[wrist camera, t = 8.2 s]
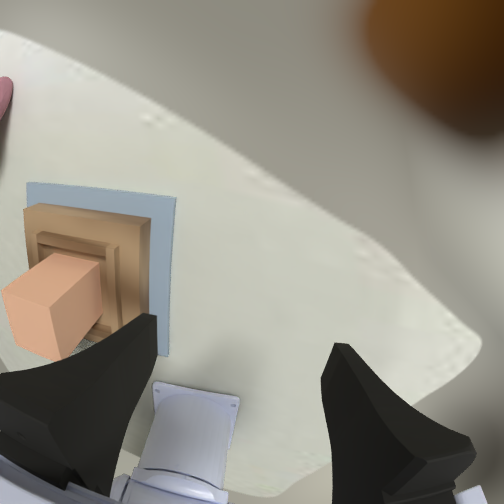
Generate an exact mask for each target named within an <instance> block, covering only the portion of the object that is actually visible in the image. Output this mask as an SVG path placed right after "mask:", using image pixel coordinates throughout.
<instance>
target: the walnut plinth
mask: <svg viewBox="0 0 504 504" xmlns="http://www.w3.org/2000/svg"><path fill="white" fill-rule="evenodd" d="M23 211H24V226H25V238H26V247H27V255H28V263H29V270H30V269H31V268H33V267H34V266H35V265H37V264H38V263H40V262H41V261H43V260H44V259H46V258H47V257H49V256H50V255H52V254H53V253H57V254H62V255H66V256H71V257H75V258H80V259H85V260H89V261H94V262H99V269H100V285H101V297H102V308H103V314H102V315H101V316H100V317H99V319H98V320H97V321H96V322H95V324H94V325H93V326H92V327H91V329H90V330H89V331H88V332H87V334H86V335H85V336H84V337H83V338H84V339H87V340H90V341H94V342H97V343H98V342H100V341H101V340H103V339H105V338H106V337H108V336H110V335H111V334H113V333H114V332H116V331H117V330H119V329H120V328H122V327H123V326H124V325H126V324H127V323H129V322H130V321H132V320H133V319H134V318H136V317H137V316H139V315H140V314H142V313H147V314H149V262H150V233H151V218H148V217H141V216H134V215H127V214H120V213H113V212H106V211H98V210H91V209H84V208H76V207H69V206H61V205H53V204H46V203H37V204H35V205H32V206H30V207H27V208H25V209H23Z"/></svg>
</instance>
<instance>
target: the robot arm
mask: <svg viewBox="0 0 504 504" xmlns="http://www.w3.org/2000/svg"><path fill="white" fill-rule="evenodd" d="M157 355H158V341H157V315H152V314H147V313H142V314H140V315H139V316H137V317H136V318H134V319H133V320H132V321H130V322H129V323H127V324H126V325H124V326H123V327H122V328H120V329H119V330H117V331H116V332H114V333H113V334H111V335H110V336H108V337H106V338H105V339H103V340H101V341H100V342H98V343H96V344H95V345H93V346H91V347H89V348H87V349H85V350H83V351H81V352H79V353H77V354H75V355H73V356H70V357H68V358H65V359H62V360H59V361H56V362H54V363H51V364H48V365H44V366H40V367H36V368H32V369H27V370H21V371H14V372H6V373H1V374H0V430H1V431H0V504H234V503H230V502H228V492H227V491H223V486H224V477H225V469H226V460H227V452H228V450H229V449H230V444H231V440H232V435H233V431H234V426H235V421H236V417H237V412H238V407H239V403H240V399H239V398H238V397H237V396H231V395H225V394H219V393H213V392H207V391H201V390H196V389H191V388H186V387H181V386H176V385H172V384H167V383H163V382H159V381H155V382H154V383H153V385H152V388H153V399H154V410H155V417H154V420H153V423H152V426H151V429H150V431H149V434H148V437H147V440H146V443H145V446H144V449H143V452H142V455H141V458H140V461H139V464H138V467H134V470H133V473H132V476H131V479H130V476H129V475H126V474H122V475H121V476H118V477H116V478H115V479H114V480H113V477H114V473H115V469H116V464H117V461H118V457H119V453H120V449H121V446H122V442H123V439H124V436H125V433H126V430H127V426H128V423H129V421H130V418H131V416H132V413H133V411H134V409H135V407H136V405H137V403H138V401H139V399H140V397H141V394H142V392H143V390H144V388H145V386H146V384H147V382H148V380H149V378H150V376H151V373H152V370H153V367H154V365H155V361H156V358H157ZM321 394H322V402H323V408H324V413H325V418H326V423H327V428H328V433H329V438H330V444H331V452H332V473H333V476H332V477H333V490H332V491H333V492H332V504H487V502H486V499H485V497H484V494H483V492H482V489H481V486H480V485H478V486H475V487H473V488H470V489H467V490H465V491H462V492H460V493H458V494H456V495H453V492H452V490H453V489H455V487H456V485H455V482H454V480H455V479H456V478H457V477H458V476H459V475H460V474H461V473H463V472H464V470H466V469H467V468H468V467H469V466H470V465H471V463H472V462H473V461H474V459H475V458H476V451H475V449H474V447H473V444H472V442H471V440H470V438H469V437H468V436H465V435H463V434H460V433H458V432H455V431H453V430H450V429H448V428H446V427H444V426H442V425H440V424H438V423H437V422H435V421H433V420H431V419H430V418H428V417H426V416H425V415H423V414H422V413H420V412H419V411H417V410H416V409H414V408H413V407H412V406H410V405H409V404H408V403H406V402H405V401H404V400H403V399H401V398H400V397H399V396H398V395H397V394H396V393H394V392H393V391H392V390H391V389H390V388H389V387H388V386H387V385H386V384H385V383H384V382H383V381H382V380H381V379H380V378H379V377H378V376H377V375H376V374H375V373H374V372H373V371H372V369H371V368H370V367H369V366H368V365H367V364H366V363H365V362H364V360H363V359H362V358H361V357H360V356H359V355H358V354H357V352H356V351H355V350H354V349H353V348H352V347H351V346H350V345H349V344H345V343H334V346H333V348H332V351H331V354H330V356H329V359H328V361H327V364H326V366H325V369H324V371H323V374H322V376H321Z"/></svg>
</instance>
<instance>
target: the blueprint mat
mask: <svg viewBox="0 0 504 504" xmlns="http://www.w3.org/2000/svg"><path fill="white" fill-rule="evenodd" d="M37 203H46V204H53V205H61V206H69V207H76V208H84V209H91V210H98V211H106V212H113V213H120V214H127V215H134V216H141V217H148V218H151V233H150V262H149V314H152V315H157V341H158V355H161V356H165V357H168V355H169V310H170V281H171V261H172V245H173V231H174V218H175V206H176V197H170V196H162V195H154V194H146V193H138V192H129V191H121V190H112V189H102V188H93V187H83V186H72V185H61V184H50V183H37V182H28V183H27V207H30V206H32V205H35V204H37Z"/></svg>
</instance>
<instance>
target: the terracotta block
mask: <svg viewBox="0 0 504 504" xmlns="http://www.w3.org/2000/svg"><path fill="white" fill-rule="evenodd" d="M1 292H2V296H3V300H4V304H5V308H6V312H7V316H8V320H9V323H10V326H11V330H12V333H13V336H14V339H15V343H16V345H18V346H20V347H22V348H24V349H26V350H29V351H31V352H33V353H35V354H38V355H40V356H43V357H45V358H47V359H50V360H52V361H55V362H56V361H59V360H62V359H65V358H68V357H69V356H70V354H71V353H72V352H73V350H74V349H75V348H76V346H77V345H78V344H79V343H80V341H81V340H82V339H83V337H84V336H85V335H86V334H87V332H88V331H89V330H90V329H91V327H92V326H93V325H94V324H95V322H96V321H97V320H98V319H99V317H100V316H101V315H102V314H103V308H102V297H101V285H100V269H99V262H94V261H89V260H85V259H80V258H75V257H71V256H66V255H62V254H57V253H53V254H52V255H50V256H49V257H47V258H46V259H44V260H43V261H41V262H40V263H38V264H37V265H35V266H34V267H33V268H31V269H30V270H28V271H27V272H26V273H24V274H23V275H21V276H20V277H19V278H17V279H16V280H14V281H13V282H12V283H10V284H9V285H8V286H6V287H5V288H4V289H2V290H1Z"/></svg>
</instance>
